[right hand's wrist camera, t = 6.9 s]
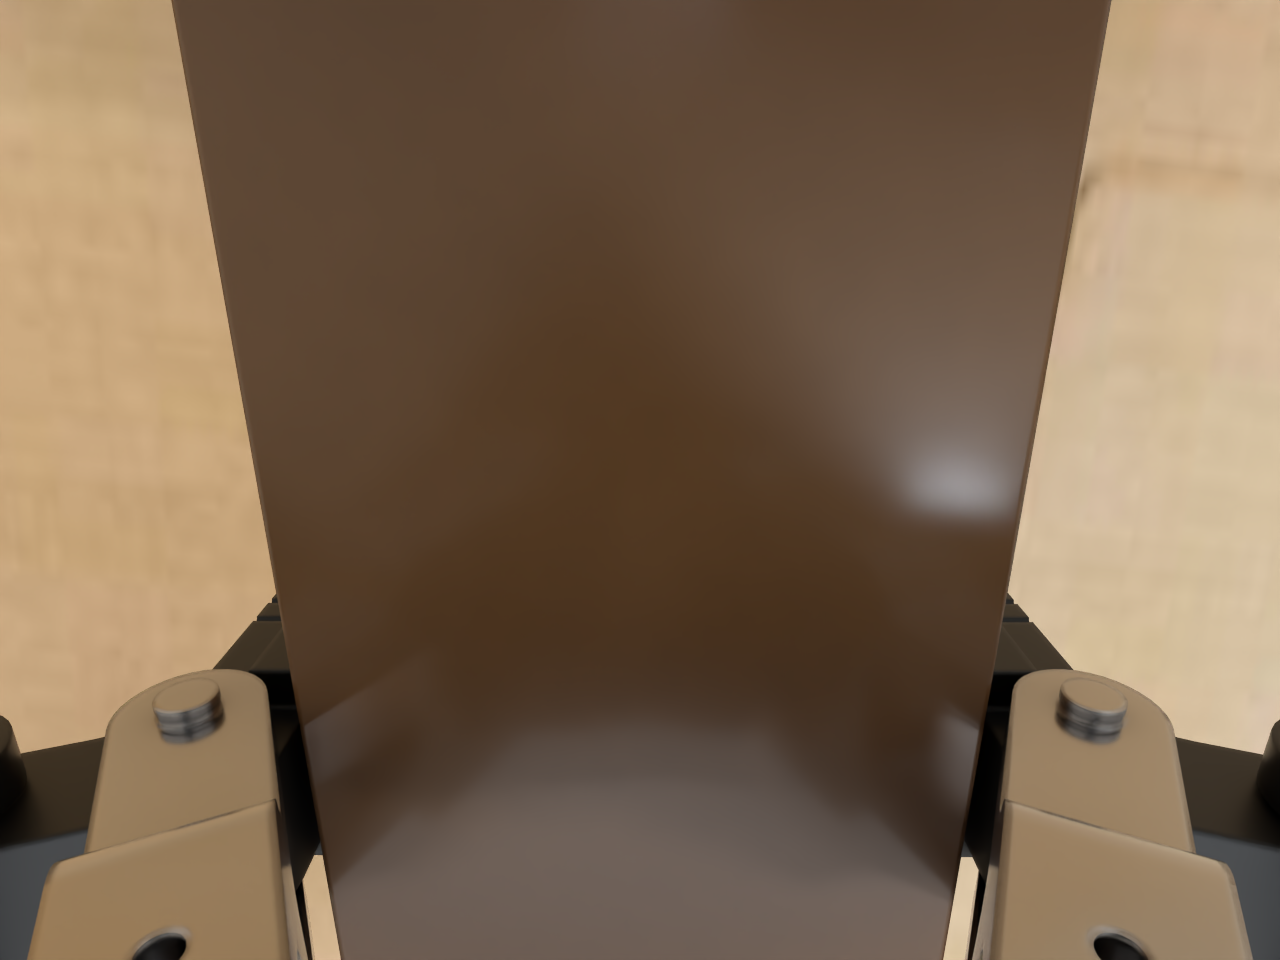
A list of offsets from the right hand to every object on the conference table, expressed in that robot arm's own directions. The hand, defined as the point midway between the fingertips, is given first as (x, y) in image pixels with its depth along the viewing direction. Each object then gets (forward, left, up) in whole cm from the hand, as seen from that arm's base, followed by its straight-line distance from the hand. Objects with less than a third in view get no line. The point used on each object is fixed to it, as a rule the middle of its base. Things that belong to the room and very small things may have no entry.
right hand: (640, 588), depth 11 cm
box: (+2, +7, -7) cm, 10 cm away
